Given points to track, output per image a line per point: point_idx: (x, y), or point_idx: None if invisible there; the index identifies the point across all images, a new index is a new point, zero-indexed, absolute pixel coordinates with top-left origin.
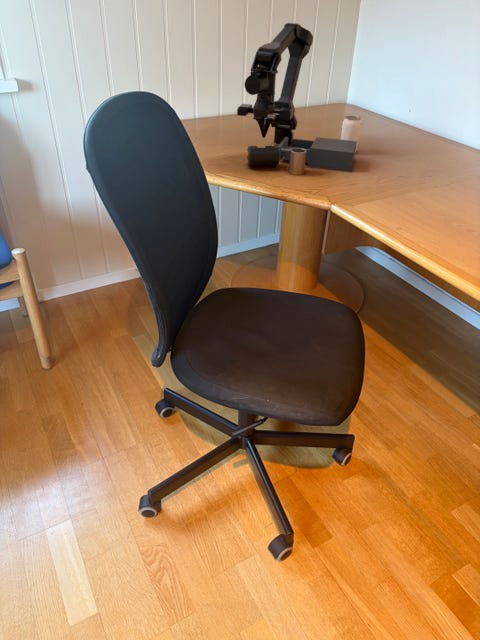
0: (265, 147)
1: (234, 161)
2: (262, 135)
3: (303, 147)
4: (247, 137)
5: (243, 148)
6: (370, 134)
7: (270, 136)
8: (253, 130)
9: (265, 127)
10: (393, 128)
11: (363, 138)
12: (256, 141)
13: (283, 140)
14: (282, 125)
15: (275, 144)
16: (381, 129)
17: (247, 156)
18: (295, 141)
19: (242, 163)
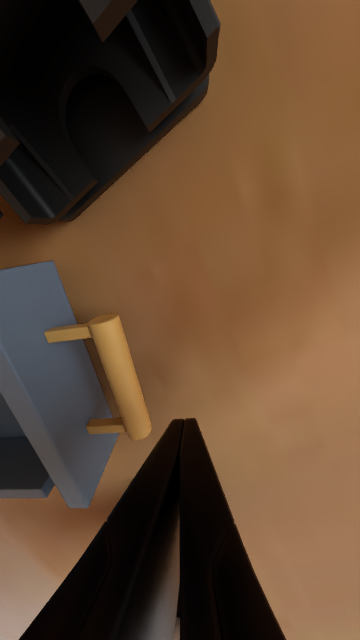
0: (5, 124)
1: (341, 100)
2: (193, 432)
3: (4, 449)
4: (354, 529)
5: (338, 401)
6: (15, 606)
7: (259, 554)
8: (346, 588)
9: (124, 552)
10: (7, 634)
11: (7, 585)
12: (297, 501)
13: (45, 444)
14: (175, 630)
15: (121, 417)
16: (21, 628)
17: (217, 29)
18: (23, 476)
19: (258, 89)
